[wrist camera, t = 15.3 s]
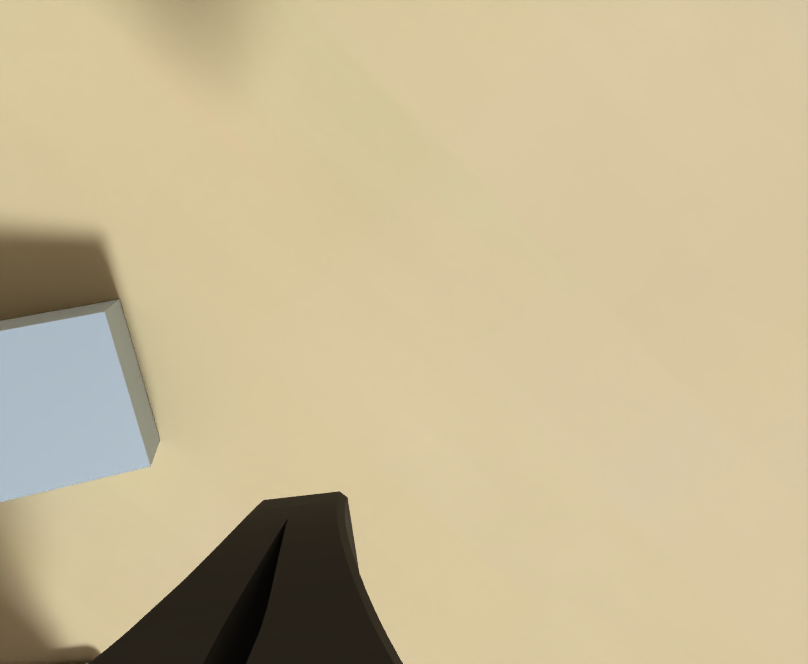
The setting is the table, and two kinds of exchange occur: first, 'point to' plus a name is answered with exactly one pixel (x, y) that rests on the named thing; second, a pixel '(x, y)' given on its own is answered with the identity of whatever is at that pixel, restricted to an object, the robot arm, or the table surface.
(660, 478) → the table surface
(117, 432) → the blue domino
